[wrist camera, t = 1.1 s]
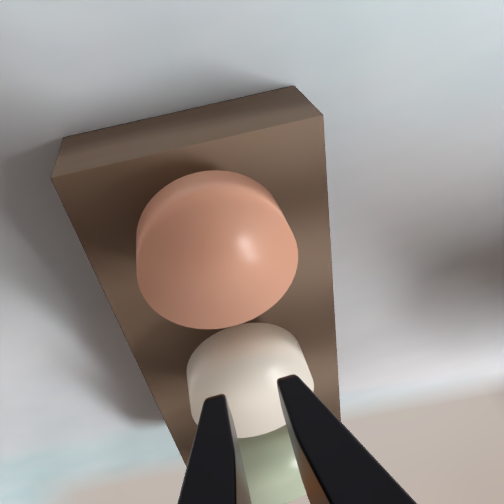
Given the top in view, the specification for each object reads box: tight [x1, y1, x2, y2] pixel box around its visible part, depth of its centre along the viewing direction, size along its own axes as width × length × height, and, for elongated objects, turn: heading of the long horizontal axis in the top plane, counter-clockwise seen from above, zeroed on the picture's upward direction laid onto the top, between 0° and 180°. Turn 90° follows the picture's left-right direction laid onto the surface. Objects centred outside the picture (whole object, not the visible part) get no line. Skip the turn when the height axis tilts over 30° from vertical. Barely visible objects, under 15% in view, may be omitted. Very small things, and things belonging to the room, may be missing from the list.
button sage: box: [238, 425, 307, 504], centre depth 20 cm, size 4×4×2 cm
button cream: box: [187, 323, 314, 438], centre depth 17 cm, size 4×4×2 cm
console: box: [51, 86, 341, 467], centre depth 20 cm, size 17×8×3 cm, turn 8°
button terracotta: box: [136, 170, 298, 329], centre depth 13 cm, size 4×4×2 cm
